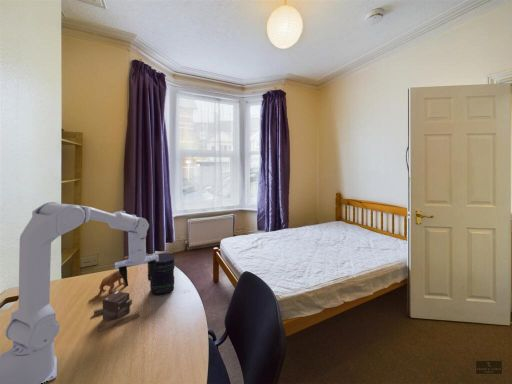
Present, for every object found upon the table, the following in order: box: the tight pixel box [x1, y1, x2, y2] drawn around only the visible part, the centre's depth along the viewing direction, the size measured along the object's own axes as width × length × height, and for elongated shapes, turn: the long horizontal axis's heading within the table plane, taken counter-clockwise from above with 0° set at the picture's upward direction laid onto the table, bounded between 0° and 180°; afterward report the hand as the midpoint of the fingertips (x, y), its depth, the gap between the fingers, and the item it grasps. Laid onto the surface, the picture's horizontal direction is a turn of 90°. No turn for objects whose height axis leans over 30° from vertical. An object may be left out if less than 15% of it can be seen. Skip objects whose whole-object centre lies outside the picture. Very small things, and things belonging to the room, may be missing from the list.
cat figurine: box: [87, 255, 129, 303], centre depth 93 cm, size 18×7×14 cm, turn 159°
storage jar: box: [149, 252, 176, 297], centre depth 96 cm, size 10×10×15 cm
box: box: [102, 290, 131, 321], centre depth 78 cm, size 6×6×7 cm
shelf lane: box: [93, 298, 140, 332], centre depth 79 cm, size 12×11×2 cm
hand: (138, 282), depth 84 cm, fingers open, 7 cm apart
